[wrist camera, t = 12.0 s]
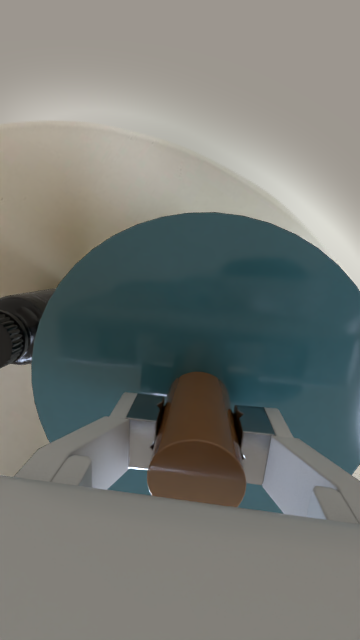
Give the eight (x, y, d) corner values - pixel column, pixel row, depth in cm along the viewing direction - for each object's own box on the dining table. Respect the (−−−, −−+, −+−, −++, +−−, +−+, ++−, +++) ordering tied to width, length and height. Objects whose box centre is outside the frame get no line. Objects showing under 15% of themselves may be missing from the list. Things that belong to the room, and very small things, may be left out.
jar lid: (410, 229, 9) (659, 189, 4) (329, 530, 13) (413, 708, 8) (37, 208, 10) (-122, 155, 5) (55, 492, 14) (-32, 627, 9)
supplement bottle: (88, 343, 32) (25, 388, 20) (38, 336, 32) (-53, 377, 21) (89, 290, 31) (22, 307, 19) (36, 284, 31) (-63, 297, 19)
